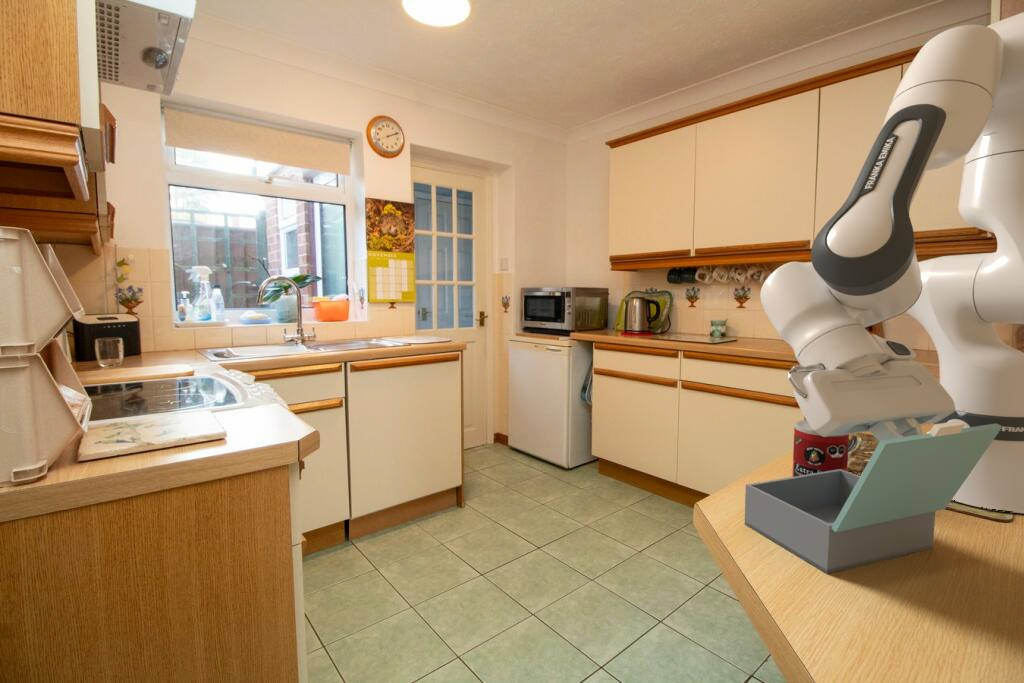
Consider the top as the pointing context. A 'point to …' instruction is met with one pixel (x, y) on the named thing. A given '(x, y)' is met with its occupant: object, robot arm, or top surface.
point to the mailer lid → (915, 474)
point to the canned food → (818, 451)
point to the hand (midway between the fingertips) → (919, 459)
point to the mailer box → (829, 522)
